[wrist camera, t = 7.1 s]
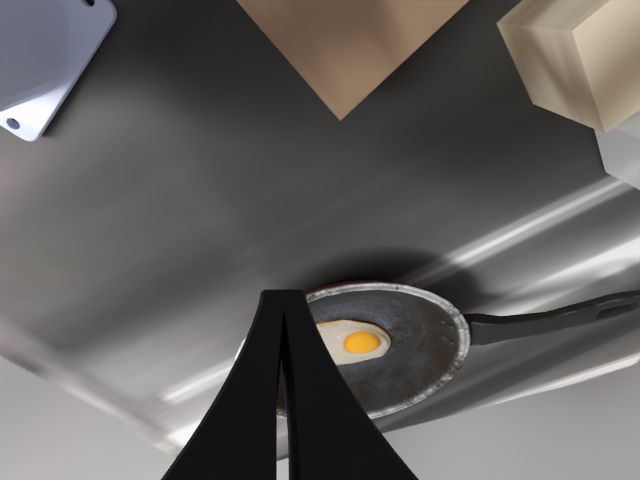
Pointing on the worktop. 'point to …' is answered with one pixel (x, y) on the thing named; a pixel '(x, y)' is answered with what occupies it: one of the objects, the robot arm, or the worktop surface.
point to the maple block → (578, 57)
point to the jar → (622, 150)
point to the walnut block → (348, 40)
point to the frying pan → (420, 337)
